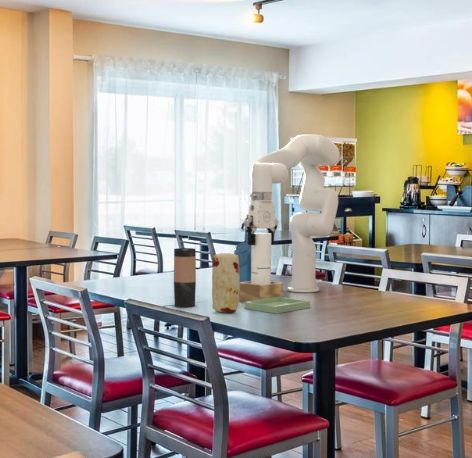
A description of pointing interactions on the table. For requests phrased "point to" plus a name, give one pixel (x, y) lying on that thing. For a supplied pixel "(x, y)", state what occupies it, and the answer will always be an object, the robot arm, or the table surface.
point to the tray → (277, 305)
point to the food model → (225, 282)
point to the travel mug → (184, 277)
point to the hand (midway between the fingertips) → (261, 244)
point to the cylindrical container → (261, 259)
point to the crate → (259, 291)
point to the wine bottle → (244, 258)
